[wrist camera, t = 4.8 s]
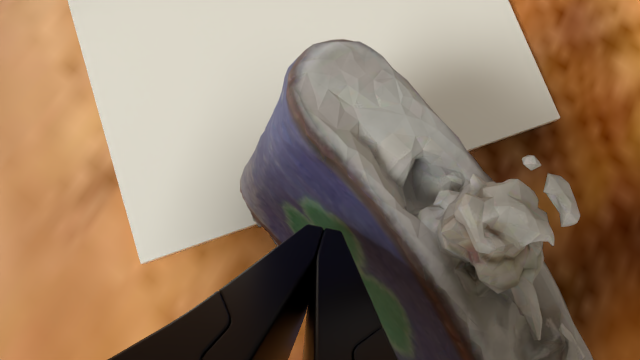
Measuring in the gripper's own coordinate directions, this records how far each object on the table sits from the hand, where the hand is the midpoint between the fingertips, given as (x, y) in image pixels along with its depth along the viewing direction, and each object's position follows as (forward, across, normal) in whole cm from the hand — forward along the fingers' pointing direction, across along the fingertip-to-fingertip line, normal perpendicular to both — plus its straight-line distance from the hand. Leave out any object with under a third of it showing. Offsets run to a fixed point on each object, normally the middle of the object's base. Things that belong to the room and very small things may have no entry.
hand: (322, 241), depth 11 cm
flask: (+5, 0, -6) cm, 8 cm away
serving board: (+11, -3, 0) cm, 12 cm away
